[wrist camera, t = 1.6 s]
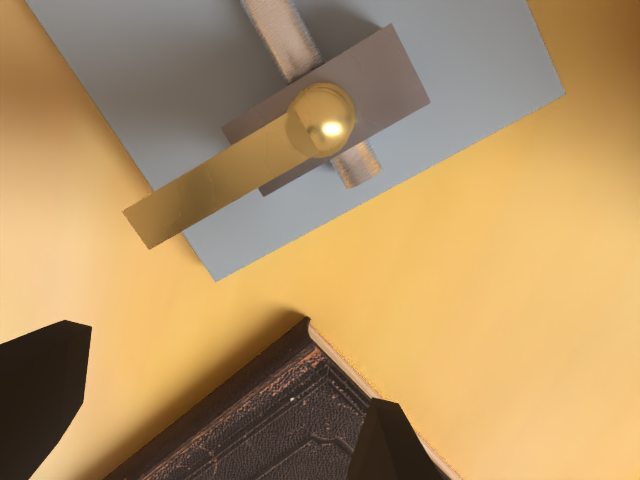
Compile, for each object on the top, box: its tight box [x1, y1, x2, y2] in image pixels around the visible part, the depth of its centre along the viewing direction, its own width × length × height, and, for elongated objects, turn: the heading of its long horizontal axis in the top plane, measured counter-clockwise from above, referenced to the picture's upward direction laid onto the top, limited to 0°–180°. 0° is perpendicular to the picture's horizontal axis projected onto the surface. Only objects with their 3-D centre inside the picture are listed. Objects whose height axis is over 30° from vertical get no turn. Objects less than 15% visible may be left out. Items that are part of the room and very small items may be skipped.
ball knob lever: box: [122, 82, 355, 250], centre depth 14 cm, size 2×6×2 cm, turn 120°
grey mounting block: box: [220, 23, 431, 197], centre depth 16 cm, size 2×6×3 cm, turn 120°
